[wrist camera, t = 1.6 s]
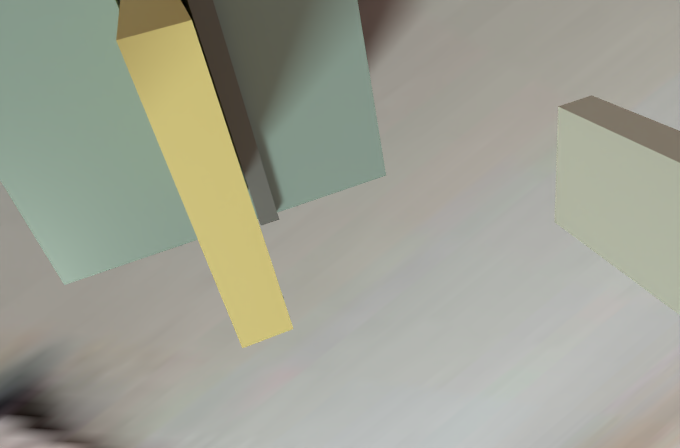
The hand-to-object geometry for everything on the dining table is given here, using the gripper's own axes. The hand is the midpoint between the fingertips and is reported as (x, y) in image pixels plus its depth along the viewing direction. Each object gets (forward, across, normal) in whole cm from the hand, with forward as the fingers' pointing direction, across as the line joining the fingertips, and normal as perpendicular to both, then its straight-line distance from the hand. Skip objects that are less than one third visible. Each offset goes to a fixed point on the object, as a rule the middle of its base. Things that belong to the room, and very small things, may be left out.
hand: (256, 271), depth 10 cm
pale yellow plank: (+18, 0, 0) cm, 19 cm away
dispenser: (+20, 0, 0) cm, 20 cm away
